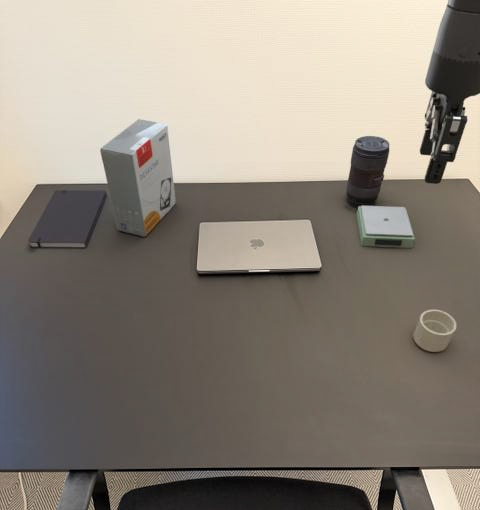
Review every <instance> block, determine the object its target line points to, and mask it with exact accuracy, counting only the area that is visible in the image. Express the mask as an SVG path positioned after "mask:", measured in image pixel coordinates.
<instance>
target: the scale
mask: <svg viewBox="0 0 480 510" xmlns="http://www.w3.org/2000/svg"><path fill="white" fill-rule="evenodd" d="M356 219H357V227H358V233H359V238H360V245H361V247H375V248H376V247H378V248H380V247H381V248H401V249H402V248H404V249H413V247H414V244H415V241H416V238H415V235H414V230H413V228H412V224H411V221H410V217H409V213H408V210H407V208H406V207H405V206H387V205H386V206H385V205H384V206H383V205H382V206H381V205H373V206H358V208H357V211H356Z"/></svg>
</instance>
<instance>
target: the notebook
mask: <svg viewBox="0 0 480 510" xmlns="http://www.w3.org/2000/svg"><path fill="white" fill-rule="evenodd" d="M107 197H108V194H107V191H106V190H102V189H101V190H96V189H95V190H91V189H90V190H88V189H87V190H84V189H83V190H82V189H81V190H79V189H78V190H77V189H74V190H73V189H68V190H67V189H64V190H63V189H58V190H55V191H54V192H53V194H52V196H51V197H50V199H49V201H48V203H47V204H46V207H45V209H44V210H43V212H42V214H41V216H40V218H39V219H38V221H37V223H36V225H35V227H34V229H33V231H32V232H31V234H30V235H29V238H28V240H27V241H28V243H29V244H30V247H31V248H35V249H37V248H39V249H41V248H43V249H45V248H46V249H86V248H87V247H88V245H89V242H90V239H91V237H92V234H93V232H94V229H95V227H96V224H97V222H98V219H99V217H100V214H101V212H102V210H103V207H104V204H105V201H106V199H107Z"/></svg>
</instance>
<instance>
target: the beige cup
mask: <svg viewBox="0 0 480 510" xmlns="http://www.w3.org/2000/svg"><path fill="white" fill-rule="evenodd" d="M457 326H458V324H457V322H456V320H455V318H454V317H453V316H452V315H451V314H449V313H448V312H446V311H444V310H440V309H427V310H425V311H424V312H422V313H421V314H420V316H419V319H418V321H417V324H416V326H415V329H414V331H413V334H412V337H413V340H414V342H415V343H416V345H417V346H418V347H419V348H421V349H422V350H423V351H427V352H429V353H430V352H431V353H439V352H443V351H444V350H446V349H447V348H448V347H449V344H450V342H451V340H452V338H453V336H454V334H455V332H456V330H457Z"/></svg>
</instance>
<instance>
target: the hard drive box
mask: <svg viewBox="0 0 480 510" xmlns="http://www.w3.org/2000/svg"><path fill="white" fill-rule="evenodd" d="M169 137H170V136H169V129H168V123H163V122H157V121H152V120H145V119H140V118H138V119H137V120H136V121H134V122H133V123H131V124H130V125H128V127H126V128H125V129H124V130H122V131H121V132H120V133H118V134H117V135H116V136H115V137H113V138H112V139H111V140H110V141H108V142H107V143H105V144H104V145H102V147H100V150H99V151H100V156H101V161H102V165H103V169H104V173H105V178H106V183H107V188H108V192H109V197H110V201H111V205H112V210H113V216H114V219H115V224H116V230H117V231H119V232H124V233H127V234H131V235H135V236H140V237H143V238H145V237H147V236H148V235H149V233H150V232H152V231H153V230H154V229H155V227H156V226H157V225H158V224H159V222H160V221H162V219H163V218H164V217H165V216H166V215H167V214H168V213H169V212H170V211H171V209H172V208H173V207H174V206H175V205H176V204H177V199H176V193H175V192H176V191H175V184H174V183H175V181H174V174H173V165H172V156H171V147H170V139H169Z"/></svg>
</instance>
